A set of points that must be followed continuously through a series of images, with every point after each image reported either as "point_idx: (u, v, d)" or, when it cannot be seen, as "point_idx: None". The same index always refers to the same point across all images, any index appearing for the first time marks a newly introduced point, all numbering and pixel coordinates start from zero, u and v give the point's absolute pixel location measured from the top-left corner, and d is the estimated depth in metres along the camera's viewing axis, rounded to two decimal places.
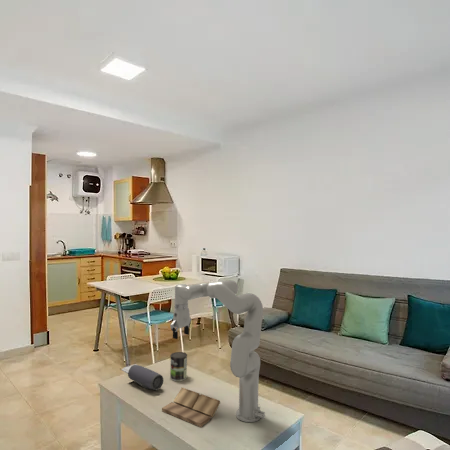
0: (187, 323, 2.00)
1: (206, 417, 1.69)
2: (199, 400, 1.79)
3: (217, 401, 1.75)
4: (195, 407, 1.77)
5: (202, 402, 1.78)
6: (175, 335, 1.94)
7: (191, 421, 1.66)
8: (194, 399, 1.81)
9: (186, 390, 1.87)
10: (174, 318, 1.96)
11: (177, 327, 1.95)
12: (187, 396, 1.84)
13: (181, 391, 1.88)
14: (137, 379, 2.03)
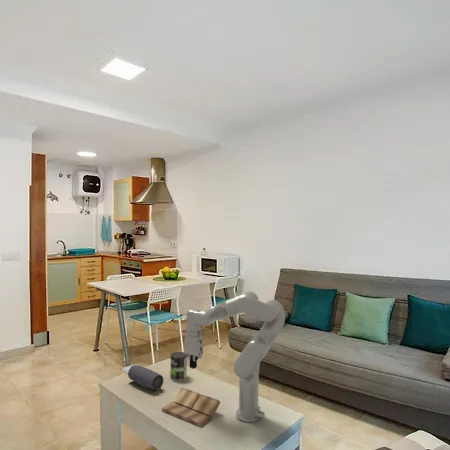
0: None
1: (206, 417, 1.69)
2: (199, 400, 1.79)
3: (217, 401, 1.75)
4: (195, 407, 1.77)
5: (202, 402, 1.78)
6: None
7: (191, 421, 1.66)
8: (194, 399, 1.81)
9: (186, 390, 1.87)
10: (199, 346, 1.82)
11: None
12: (187, 396, 1.84)
13: (181, 391, 1.88)
14: (137, 379, 2.03)
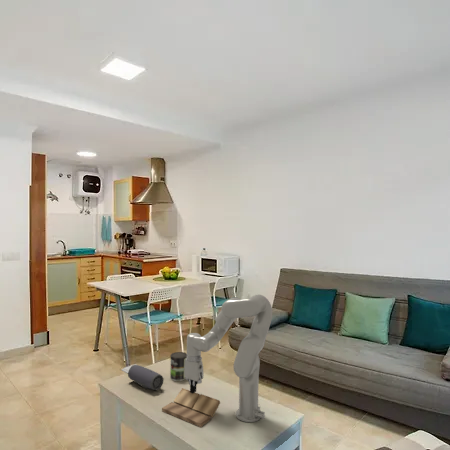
0: None
1: (206, 417, 1.69)
2: (199, 400, 1.79)
3: (217, 401, 1.75)
4: (195, 407, 1.77)
5: (202, 402, 1.78)
6: (195, 388, 1.85)
7: (191, 421, 1.66)
8: (194, 399, 1.81)
9: (186, 391, 1.87)
10: (199, 371, 1.82)
11: None
12: (187, 396, 1.84)
13: (181, 392, 1.88)
14: (137, 379, 2.03)
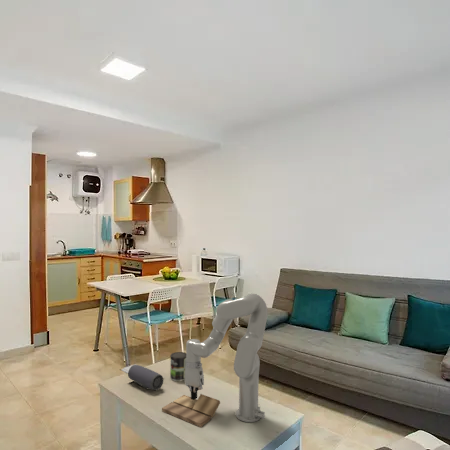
0: None
1: (206, 417, 1.69)
2: (199, 400, 1.79)
3: (217, 401, 1.75)
4: (195, 407, 1.77)
5: (202, 402, 1.78)
6: (196, 394, 1.84)
7: (191, 421, 1.66)
8: None
9: (188, 397, 1.88)
10: (200, 377, 1.81)
11: None
12: (188, 400, 1.85)
13: (182, 397, 1.88)
14: (137, 379, 2.03)
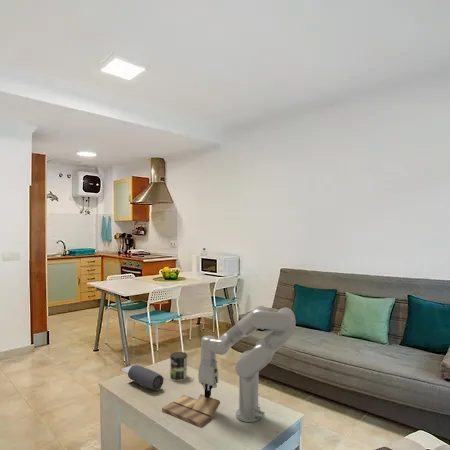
0: None
1: (206, 417, 1.69)
2: (199, 400, 1.79)
3: (217, 401, 1.75)
4: (195, 407, 1.77)
5: (202, 402, 1.78)
6: None
7: (191, 421, 1.66)
8: None
9: (188, 397, 1.88)
10: (215, 375, 1.76)
11: None
12: (188, 400, 1.85)
13: (182, 397, 1.88)
14: (137, 379, 2.03)
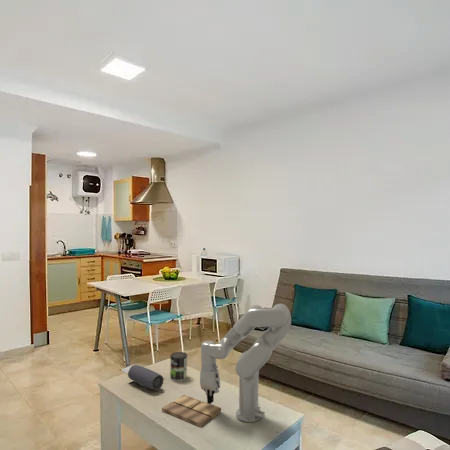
0: None
1: (206, 417, 1.69)
2: (200, 405, 1.80)
3: (218, 408, 1.77)
4: (195, 408, 1.77)
5: (203, 406, 1.78)
6: None
7: (191, 421, 1.66)
8: (195, 403, 1.81)
9: (188, 397, 1.88)
10: (216, 380, 1.76)
11: None
12: (188, 400, 1.85)
13: (182, 397, 1.88)
14: (137, 379, 2.03)
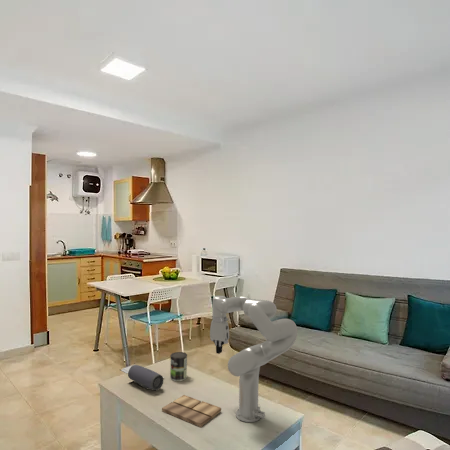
0: None
1: (206, 417, 1.69)
2: (200, 405, 1.80)
3: (218, 408, 1.77)
4: (195, 408, 1.77)
5: (203, 406, 1.78)
6: (221, 349, 1.90)
7: (191, 421, 1.66)
8: (195, 403, 1.81)
9: (188, 397, 1.88)
10: (226, 331, 1.87)
11: None
12: (188, 400, 1.85)
13: (182, 397, 1.88)
14: (137, 379, 2.03)
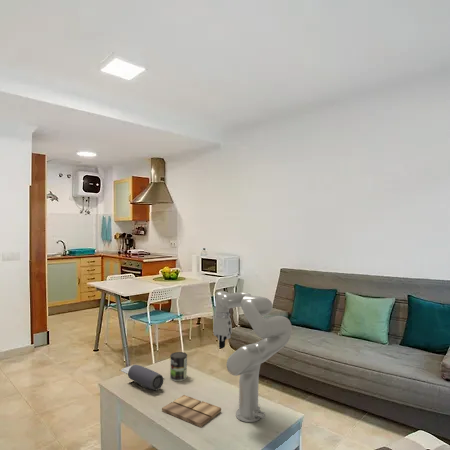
0: None
1: (206, 417, 1.69)
2: (200, 405, 1.80)
3: (218, 408, 1.77)
4: (195, 408, 1.77)
5: (203, 406, 1.78)
6: None
7: (191, 421, 1.66)
8: (195, 403, 1.81)
9: (188, 397, 1.88)
10: (228, 327, 1.90)
11: None
12: (188, 400, 1.85)
13: (182, 397, 1.88)
14: (137, 379, 2.03)
